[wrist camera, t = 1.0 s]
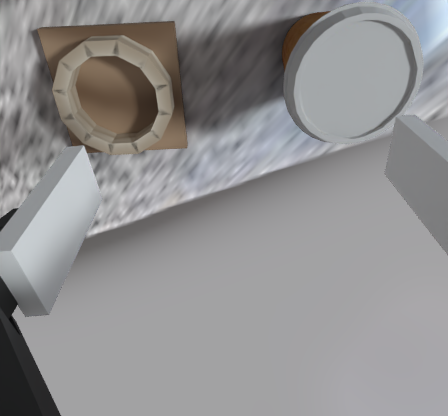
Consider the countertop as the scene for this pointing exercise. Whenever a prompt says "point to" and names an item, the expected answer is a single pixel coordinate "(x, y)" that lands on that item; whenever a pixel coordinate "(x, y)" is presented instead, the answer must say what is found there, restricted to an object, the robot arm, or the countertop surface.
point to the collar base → (117, 85)
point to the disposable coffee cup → (351, 71)
